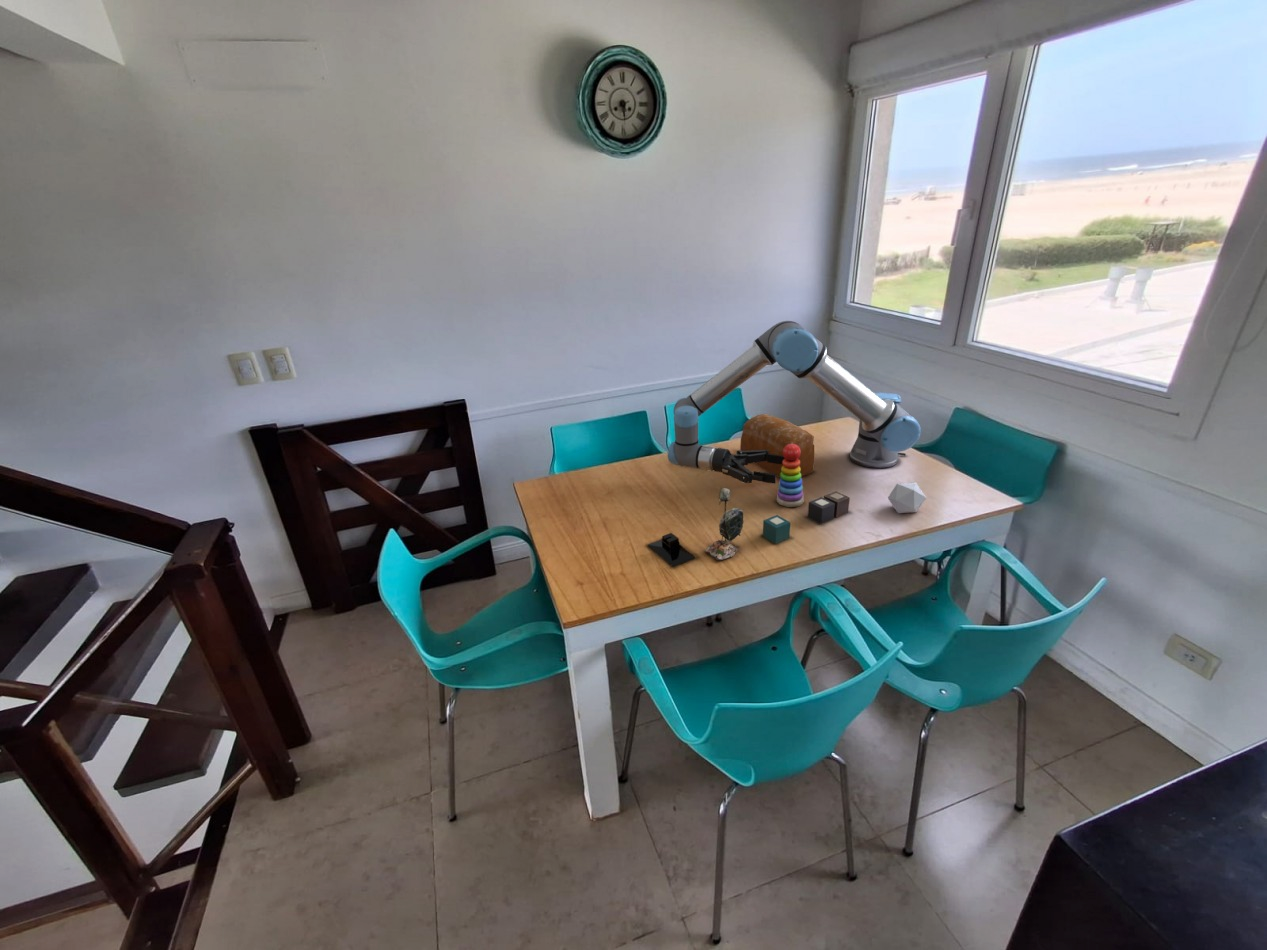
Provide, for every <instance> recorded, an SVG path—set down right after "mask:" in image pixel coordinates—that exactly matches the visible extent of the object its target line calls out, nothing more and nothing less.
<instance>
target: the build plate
mask: <svg viewBox="0 0 1267 950" xmlns="http://www.w3.org/2000/svg"><path fill="white" fill-rule="evenodd" d="M647 547H648V548H650V549H651V550H652V551H653V552H654V553H656V554H657V555H658V556H659V557H660V558H661V559H663V561H665V562H666V563H667V564H669V565H670V567H672V568H675V567H677V566H680V565H682V564H685V563H688V562H690V561H692V560H695V559H696V556H695V555H694V554H692V553H691V552H690V551H688V550H687V549H686V548H685V547H683V546H682V545H681V544H680V539H679V537H677V536H676V535H675V534H673V532H669V533H667V534H664V535H662V536H661V539H659V540H656V541H654V542H651V543H649V544H647Z"/></svg>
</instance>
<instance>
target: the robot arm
mask: <svg viewBox="0 0 1267 950" xmlns="http://www.w3.org/2000/svg"><path fill="white" fill-rule="evenodd" d="M827 349H828V348H827V346H826V345H825V344H824V343H822V342H821V341H820V340H819V339H818V338H816V337H815V336H814V335H813V334H812V333H811V332H810V331H809V330H807V329H805V328H804V327H803V326H802V325H801V324H799V323H798V322H796V321H793V320H783V321H780V322H778V323H776V324H774V325H773V326H771V327H770V328H768V329H767V330H766V331H765V332H763V333H762V334H761V335H760V336H759V337H757V338H756V339H755V340H753V342H752V346H751V347H750V348H748V349H747V350H745V351H744V352H743V353H742V354H741V355H739V356H738V357H737V358H735V359H734V360H733V361H732V362H730V363H729V364H728V365H727V366H725V367H724V368H722V369H721V370H720V371H719V372H718V373H716V374H715V375H713V376H712V377H711V378H710V379H708V380H707V381H706V382H705V383H703V384H702V385H700V387H698V388H697V389H695V390H694V391H693V392H692V393H691V394H689V395H688V396H687V397H682V398H679V399H678V400H676V402H675V404H674V407H673V427H674V441H672V442H671V443H670V444H669V446H668V449H667V459H668V462H669V463H670V464H672V465H676V466H680V467H686V468H694V469H698V470H704V471H706V472H708V471H710V472H712V471H714V472H717V473H721V474H722V475H724V476H729V477H731V478H733V479H735V480H737V481H740V482H742V483H744V484H752V483H753V481H755V482H761V483H766V484H772V485H775V484H776V482H777V476H776V474H773V473H771V472H762V471H756V470H753V472H752V471H751V470H750V469H749V468H747V467H745V466H748V465H749V464H755V462H762V461H767V462H768V463H775V464H782V462H783V460H784V459H785V458H784V456H782V455H775V454H769V450H751V451H741V450H740V449H737V450H736V453H734V454H733V453H731V451H730V450H729V449H728V448H722V447H716V446H710V445H703V444H699V443H700V441H699V440H700V439H699V420H700V418H699V417H700V416H702V415H703V414H704V413H706V412H707V411H708V410H709V409H711V408H712V407H713V406H715V405H716V404H717V403H719V402H720V401H721V400H723V399H724V398H725V397H726V396H728V395H729V394H731V393H732V392H733V391H735V390H736V389H737V388H739V387H740V386H741V385H743V383H745V382H746V381H748V380H749V379H751V378H752V377H753V376H755V375H756V374H757V373H758V372H760V371H761V370H762V369H764V368H765V367H766V366H773V365H774V364H776V363H777V364H778V365H779V366H780V367H781V368H782V369H784V370H786V371H789V372H790V373H791V374H793V375H794V376H795V377H796V378H798V379H808V380H809V381H810V382H811V383H813V384H814V385H815V386H817V388H819V389H820V390H821V391H823V393H825V394H827V395H828V396H829V397H830V398H831V399H833V400H834V401H835V402H837V403H838V404H839V405H840V406H842V408H844V409H846V410H847V411H848V412H849V413H851V414H852V415H853V416H855V417H856V418H857V419H858V420H859V423H858V433H857V437H856V439H855V442H854V444H853V445H852V448H851V450H850V452H849V459H850V460H851V461H852V462H853V463H855V464H857V465H859V466H862V467H865V468H871V469H886V468H890V467H894V466H896V465H897V464H898V463H899V457H900V456H906V452H904V451H908V450H909V449H911V448H912V447H914V446H915V444H916V443H917V442H918V440H919V439H920V437H921V431H922V429H921V426H920V423H919V422H918V420H917V419H916V418H915V417H913V416H912V415H911V414H909V413H908V412H907V411H906V410H904V409H903V408H902V407H901V403H902V397H901V396H900V395H899V394H896V393H891V392H874V391H873V390H871V389H870V388H869V387H868V386H867V385H866V384H864V383H863V382H862V381H861V380H859V379H858V378H857V377H856V376H854V375H853V374H852V373H851V372H849V371H848V370H847V369H846V368H844V367H843V366H842V365H840V364H839V363H838V362H837V361H836V360H834V358H832V357H831V356H829V355H828V354H827V353H828V352H827V351H828V350H827ZM782 465H783V464H782Z"/></svg>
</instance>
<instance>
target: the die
mask: <svg viewBox="0 0 1267 950" xmlns="http://www.w3.org/2000/svg"><path fill="white" fill-rule="evenodd" d="M887 499H888V501H889V502H890V504H891V506H892V507H893V508H894V509H895V511H896V513H897V514H908V513H909V514H910V513H917V512H918V511H919V509H920V508H921V507H922V505H923V504H924V503H925V501H926V500H927V496H926V495H925V493H924V492H923V490H922V489H921V487H920V486H919V485H918V483H917V482H901V483H896V484H895V486H894V488H893V489H892V490H891V491H890V494H889V495H888V496H887Z"/></svg>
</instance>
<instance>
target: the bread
mask: <svg viewBox="0 0 1267 950" xmlns="http://www.w3.org/2000/svg"><path fill="white" fill-rule="evenodd" d="M814 439H815V436H814V435H813V434H811V433H810V432H809V431H808V430H805V429H803V428H802V427H800V426H798V425H796V424H794V423H792V422H791V421H788V420H786V419H782V418H780V417H776V416H773V415H770V414H768V413H767V414H766V413H763V414H762V413H761V414H757V415H755V416H752V417H751V418H749V419H748V420H747V421H746V422H745V423H744V424H743V426H742V433H741V436H740V449H739V450H741V451H751V450H769V454H775V455H782V456H783V449H784V447H785V446H786V445H788V444H796V445H797V446H798V447H799V448H800V450H801V454H800V457H799V458H798V459H799V461H800V466H799V467H800V468H801V471H800V473H801V477H803V476H807V475H809V474H811V473H812V472H813V471H814V467H815V466H814V465H815V444H814ZM754 464H755V465H758V466H759V467H760V468H762V469H764V470H766V471H767V472H768V473H770V474H776V477H778V478H779V479H780V478H781V477H780V473H781V472H782V471H781V468H782V466H783V465H782V464H775V463H768V462H767V461H762V462H755V463H754Z"/></svg>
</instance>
